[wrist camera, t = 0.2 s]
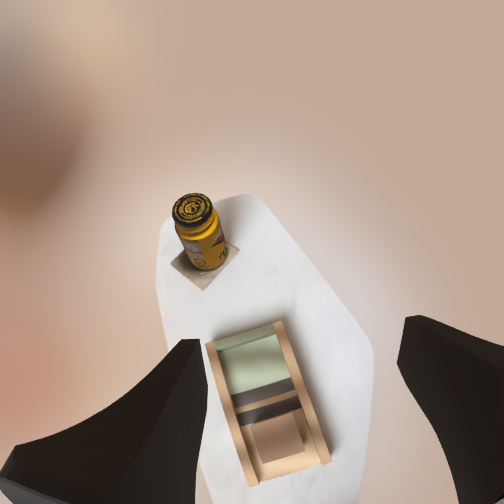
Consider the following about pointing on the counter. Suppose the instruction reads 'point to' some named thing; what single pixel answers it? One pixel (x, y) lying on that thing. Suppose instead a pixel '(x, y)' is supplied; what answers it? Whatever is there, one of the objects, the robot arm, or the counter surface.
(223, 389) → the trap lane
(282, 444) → the walnut block
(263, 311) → the counter surface
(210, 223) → the condiment
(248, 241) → the counter surface
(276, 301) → the counter surface
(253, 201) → the counter surface
